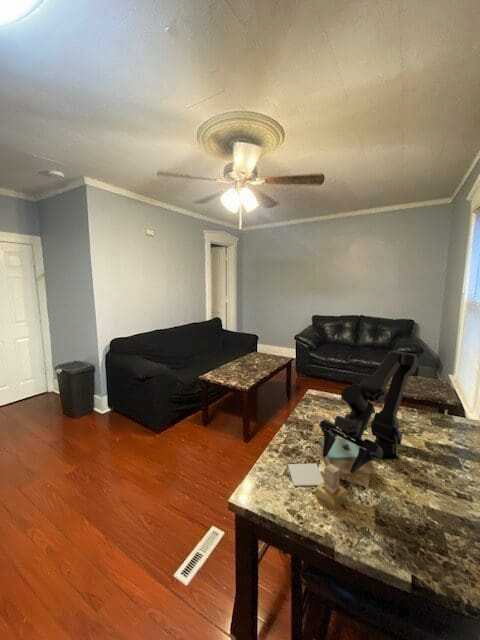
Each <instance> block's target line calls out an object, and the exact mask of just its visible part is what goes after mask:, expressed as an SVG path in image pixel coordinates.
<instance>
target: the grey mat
mask: <svg viewBox="0 0 480 640" xmlns="http://www.w3.org/2000/svg"><path fill="white" fill-rule="evenodd" d="M287 467H288V471H289V474H290V479H291V481H292V486H293V487H311V486H312V487H317V486H319V485H320V484H321V483H323V482H324V476H323V475H322V473H321V471H320V468H319V467H318V465H317V463H316V462H314V463H288V464H287Z"/></svg>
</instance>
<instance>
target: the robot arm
mask: <svg viewBox="0 0 480 640" xmlns="http://www.w3.org/2000/svg"><path fill="white" fill-rule="evenodd" d="M419 365H420V358H419V357H418V356H417V354H414V353H409V352H404V351H398V350H397V351H394V350H393V351H392V350H391V351H388V352H387V354H386V357H385V358H384V359H383V361H382V362H381V364H380V365H379V367H378V368H377V369H376V371H375V372H374V373H373V374H372V375H371V376H367V377H365V378H364V379H362V381H361V382H360V383H359V384H358V383H356V382H355V383H354V382H353V383H352V385H350V386H347V387H345V388H344V389H343V390H342V391H341V398H342V400H343V401H344V403H345V404H346V405H347V406H348V408H349V409H350V412H349V413H346V414H347V415H346V414H345V416H342V415H340V416H336V419H335V420H334V423H333V422H330V421H328V420H326V419H323V420H320V422H319V425H318V428H320V431H321V432H322V433H323V439H324V448H323V457H326V456H327V454H328V453H329V451H330V449H331V447H332V446H333V444H334V442H335V440H336V439H337V438H335V437H339V438H340V439H345V440H347V441H349V442H351V443H353V444H355V445H358V446H360V447H359V453H358V456H357V458H356V460H355V461H354V463H353V465H352V468H351V470H350V472H351V473H352V474H351V475H354V474H353V473H354V472H355V471H356V470H358V469H359V468H360V467H361V466H363V465H364V464H366V463H367V462H369V461H371V460H372V461H373V462H374V461H376V460H377V461H382V460H395V459H396V460H397V459H398V460H399V459H400V456H399V455H398V454H397V448H398V445H401V444H402V440H403V434H402V433H401V431H400V422H399V419H398V417H397V416H398V415H397V414H398V413H399V409H400V405H401V403H402V402H401V401H402V400H403V399H402V398H403V395H404V392H405V389H406V385H407V382H408V379H409V377H411V376H413V375H414V374H415V373H416V371H417V368H419ZM389 382H390V383H389ZM388 384H389V387H388V390H387V389H386V387H387V385H388ZM383 401H384V403H383V407H382V410H380V411H379V412H376V409H375V405H374V404H373V403H375V404H381V403H382V402H383ZM371 402H373V403H371ZM372 415H374V416H373V420H372V421H371V423H370V431H371V436H373V437H375V439H374V441H372V440H370V439H368V438H365V439H362V437H363V436H364V433H365V431H367V430H368V424H369V421H370V419H371V418H372ZM344 417H345V418H344ZM336 427H339V429H337V428H336ZM352 439H354V440H355V441H354V440H352ZM361 447H362V448H361Z"/></svg>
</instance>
